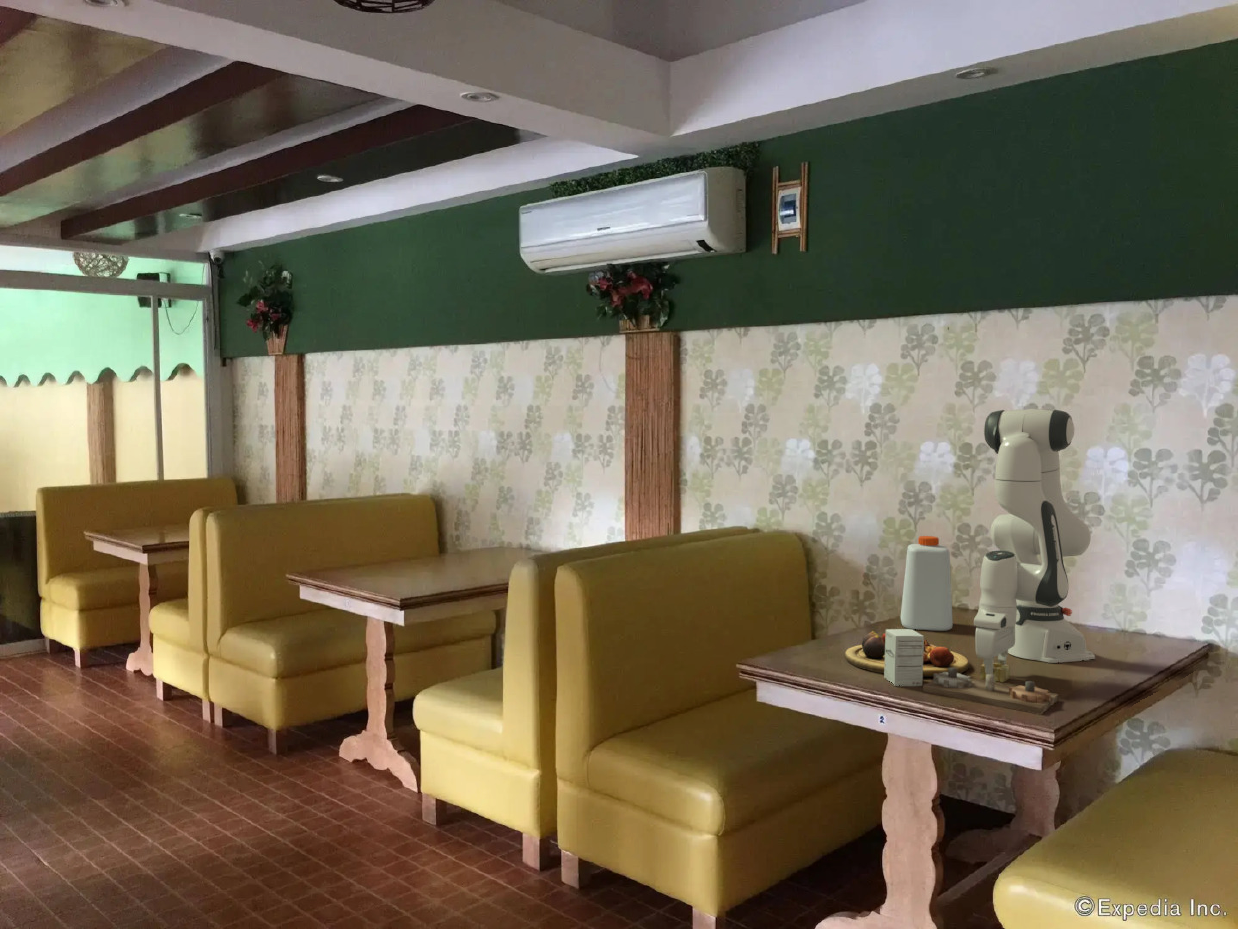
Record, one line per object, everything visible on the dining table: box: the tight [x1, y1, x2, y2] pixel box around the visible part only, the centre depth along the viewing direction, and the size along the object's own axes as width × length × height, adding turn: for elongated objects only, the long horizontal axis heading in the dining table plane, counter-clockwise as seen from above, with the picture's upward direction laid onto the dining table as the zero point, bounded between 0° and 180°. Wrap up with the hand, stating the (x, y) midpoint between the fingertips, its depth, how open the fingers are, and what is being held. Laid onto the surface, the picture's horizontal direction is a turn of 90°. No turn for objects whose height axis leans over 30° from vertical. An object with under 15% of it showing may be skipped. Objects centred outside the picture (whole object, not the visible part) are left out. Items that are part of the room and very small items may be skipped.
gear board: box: [922, 668, 1059, 715], centre depth 235 cm, size 14×27×5 cm, turn 52°
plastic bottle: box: [900, 535, 953, 632], centre depth 310 cm, size 15×15×28 cm
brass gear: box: [980, 661, 1011, 683], centre depth 251 cm, size 6×6×3 cm
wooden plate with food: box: [844, 630, 970, 678], centre depth 265 cm, size 32×32×8 cm
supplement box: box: [883, 628, 925, 687], centre depth 246 cm, size 7×7×13 cm
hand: (995, 670), depth 250 cm, fingers open, 8 cm apart
